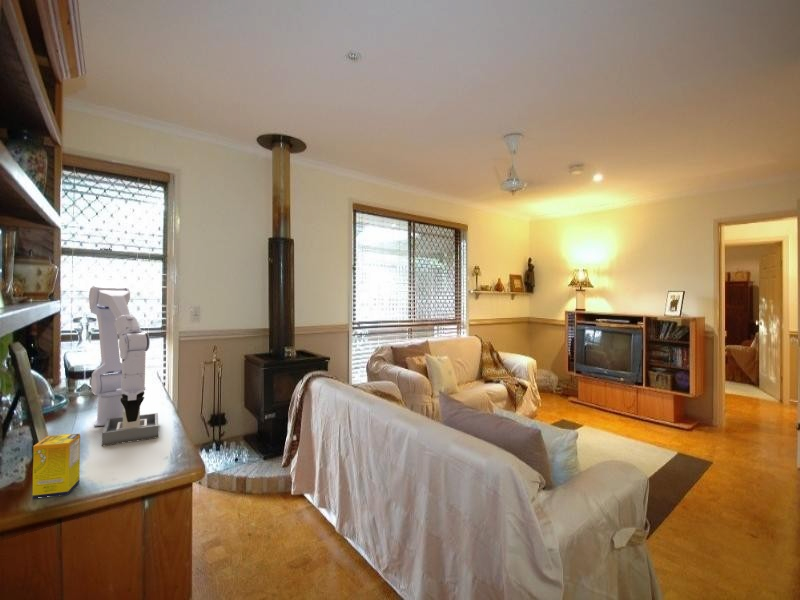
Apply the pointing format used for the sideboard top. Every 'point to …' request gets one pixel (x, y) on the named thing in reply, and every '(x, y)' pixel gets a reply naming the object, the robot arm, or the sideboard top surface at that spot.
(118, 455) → the sideboard top surface
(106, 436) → the walled box
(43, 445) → the supplement box
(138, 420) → the connector
